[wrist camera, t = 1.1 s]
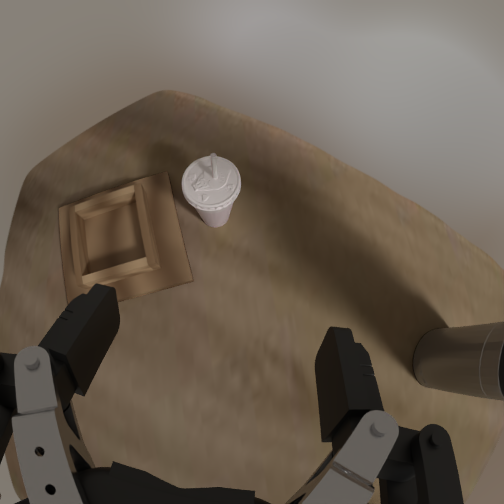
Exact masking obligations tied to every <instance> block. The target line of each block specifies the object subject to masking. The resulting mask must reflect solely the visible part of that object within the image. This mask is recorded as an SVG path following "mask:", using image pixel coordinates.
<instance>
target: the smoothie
mask: <svg viewBox="0 0 504 504" xmlns="http://www.w3.org/2000/svg"><path fill="white" fill-rule="evenodd" d="M240 188H241V178H240V174H239V171H238V169H237V167H236V166H235V165H234V164H233V163H232V162H231V161H229V160H227V159H225V158H223V157H219V156H216V154H215V153H212V154H211V155H210V156H206V157H202V158H200V159H197V160H196V161H194V162H193V163H191V164H190V165H189V166H188V167H187V169H186V170H185V172H184V174H183V177H182V191H183V194H184V197H185V199H186V200H187V201H188V202H189V204H191V205H192V206H194V207H195V209H196V210H197V212H198V213H199V215H200V216H201V218H202V219H203V221H204V222H205V224H207V225H208V226H210V227H220V226H222V225H224V224H225V223H226V222H227V220H228V218H229V215H230V211H231V208H232V205H233V202H234V200H235V199H236V198H237V196H238V194H239V192H240Z"/></svg>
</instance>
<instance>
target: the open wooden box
mask: <svg viewBox="0 0 504 504" xmlns="http://www.w3.org/2000/svg"><path fill="white" fill-rule="evenodd" d="M59 225H60V241H61V253H62V263H63V271H64V279H65V286H66V293H67V299H68V304H69V303H70V302H71V301H72V300H73V299H74V298H76V297H77V296H79V295H81V294H82V293H84V294H87V293H88V292H89V291H90V289H91V288H92V287H93V285H94V284H96V283H98V284H102V285H106V286H110V287H114V288H115V289H116V294H117V301H118V302H121V301H124V300H128V299H132V298H135V297H139V296H143V295H146V294H150V293H154V292H157V291H161V290H164V289H168V288H172V287H175V286H179V285H182V284H186V283H190V282H193V281H194V279H193V276H192V272H191V268H190V264H189V260H188V256H187V252H186V249H185V244H184V240H183V236H182V232H181V228H180V224H179V219H178V215H177V211H176V206H175V202H174V197H173V193H172V188H171V183H170V179H169V174H168V172H167V171H165V172H162V173H158V174H155V175H152V176H148V177H145V178H142V179H139V180H136V181H132V182H129V183H126V184H123V185H120V186H117V187H114V188H111V189H109V190H106V191H103V192H100V193H97V194H94V195H92V196H89V197H86V198H84V199H81V200H78V201H76V202H73V203H70V204H68V205H65V206H63V207H60V208H59Z"/></svg>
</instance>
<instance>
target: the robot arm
mask: <svg viewBox="0 0 504 504" xmlns="http://www.w3.org/2000/svg"><path fill="white" fill-rule="evenodd" d="M119 325H120V315H119V308H118V301H117V294H116V289H115V288H114V287H110V286H106V285H102V284H98V283H96V284H94V285H93V287H92V288H91V289H90V291H89V292H88V293H87V294H84V293H82V294H81V295H79V296H77V297H76V298H74V299H73V300H72V301H71V302H70V303H69V304H68V306H67V307H66V308H65V311H63V312H62V314H61V315H60V316H59V318H58V319H57V320H56V322H55V323H54V324H53V326H52V327H51V328H50V330H49V331H48V332H47V334H46V335H45V337H44V338H43V339H42V341H41V342H40V344H39V345H38V346H30V347H26V348H24V349H23V350H21V351H20V352H19V353H18V354H8V353H0V464H1V461H2V458H3V456H4V453H5V450H6V448H7V445H8V443H9V440H10V438H11V435H12V433H13V434H14V440H15V445H16V451H17V456H18V461H19V465H20V469H21V474H22V477H23V481H24V485H25V489H26V492H27V495H28V498H26V499H24V500H22V501H19V502H17V503H15V504H270V503H269V502H267V501H264V500H262V499H259V498H256V497H255V491H250V490H239V489H231V488H223V487H212V488H186V489H184V488H178V487H176V486H174V485H171V484H169V483H167V482H165V481H163V480H161V479H159V478H157V477H155V476H153V475H151V474H149V473H148V472H146V471H142V470H139V469H135V468H132V467H129V466H126V465H123V464H120V463H117V462H114V461H113V463H112V466H111V467H97V468H96V467H95V465H94V462H93V460H92V458H91V456H90V454H89V452H88V450H87V448H86V446H85V444H84V441H83V438H82V435H81V431H80V428H79V425H78V421H77V418H76V414H75V410H74V407H73V403H72V400H71V399H72V397H73V395H74V393H76V394H79V395H82V396H85V394H86V392H87V390H88V388H89V386H90V384H91V382H92V380H93V378H94V376H95V374H96V372H97V370H98V368H99V366H100V364H101V362H102V360H103V358H104V357H105V355H106V353H107V351H108V349H109V347H110V345H111V343H112V341H113V340H114V338H115V336H116V334H117V332H118V329H119ZM413 369H414V374H415V376H416V378H417V380H418V382H419V383H420V384H421V385H423V386H425V387H428V388H433V389H438V390H442V391H447V392H452V393H457V394H463V395H469V396H475V397H481V398H488V399H495V400H502V401H504V322H497V323H490V324H481V325H473V326H463V327H452V328H440V329H434V330H431V331H429V332H428V333H426V334H425V335H424V336H423V337H422V339H421V340H420V341H419V343H418V345H417V347H416V350H415V353H414V358H413ZM315 375H316V384H317V394H318V404H319V415H320V426H321V439H322V442H332V448H333V449H332V450H331V451H330V453H329V454H328V455H327V457H326V458H325V459H324V461H323V462H322V463H321V464H320V466H319V467H318V468H317V469H316V471H315V472H314V473H313V474H312V475H311V477H310V478H309V479H308V480H307V481H306V483H305V484H304V485H303V486H302V487H301V488H300V489H299V490H298V491H297V492H296V493H295V494H294V495H293V496H292V497H291V498H290V499H289V500H288V501H287V502H286V503H285V504H367V503H368V501H369V500H370V498H371V496H372V495H373V492H374V487H373V486H372V485H373V482H374V480H375V479H376V478H379V485H380V499H381V504H464V503H463V497H462V491H461V485H460V480H459V474H458V470H457V465H456V460H455V456H454V452H453V447H452V443H451V439H450V436H449V434H448V433H447V431H446V430H445V429H444V428H443V427H441V426H439V425H436V424H430V425H427V426H425V427H424V428H423V429H422V430H421V431H417V430H412V429H408V428H404V427H400V426H398V424H397V422H396V420H395V419H394V418H393V417H392V416H391V415H390V414H388V413H386V412H384V409H383V405H382V401H381V397H380V393H379V389H378V385H377V382H376V378H375V376H374V371H373V367H372V364H371V360H370V357H369V354H368V352H367V351H366V350H365V348H364V347H363V346H362V344H361V343H355V342H354V338H353V334H352V331H351V329H349V328H340V327H330V328H329V329H328V331H327V333H326V335H325V337H324V340H323V342H322V344H321V346H320V348H319V351H318V353H317V356H316V360H315ZM0 499H1V494H0Z"/></svg>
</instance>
